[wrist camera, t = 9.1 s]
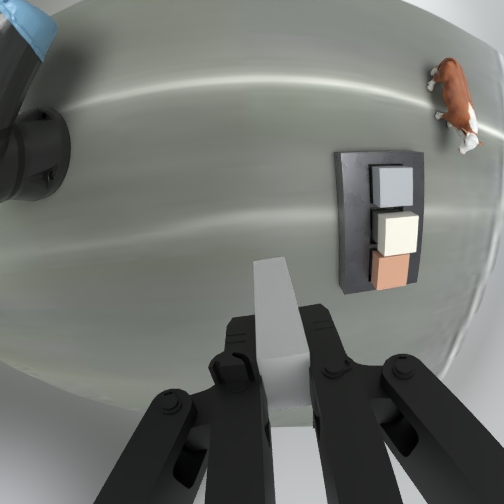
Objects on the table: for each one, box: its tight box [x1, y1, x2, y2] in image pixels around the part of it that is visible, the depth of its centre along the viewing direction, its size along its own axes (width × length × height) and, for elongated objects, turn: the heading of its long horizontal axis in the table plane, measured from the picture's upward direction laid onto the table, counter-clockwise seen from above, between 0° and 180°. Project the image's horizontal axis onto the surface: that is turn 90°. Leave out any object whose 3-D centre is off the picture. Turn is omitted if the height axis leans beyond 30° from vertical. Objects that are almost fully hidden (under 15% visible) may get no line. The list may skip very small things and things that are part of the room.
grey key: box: [369, 166, 413, 208], centre depth 31 cm, size 5×5×5 cm
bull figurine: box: [427, 58, 483, 154], centre depth 25 cm, size 4×14×8 cm, turn 10°
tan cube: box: [369, 248, 410, 290], centre depth 35 cm, size 5×5×5 cm
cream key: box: [372, 209, 419, 256], centre depth 31 cm, size 5×5×5 cm
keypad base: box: [334, 151, 424, 295], centre depth 34 cm, size 19×12×3 cm, turn 7°
